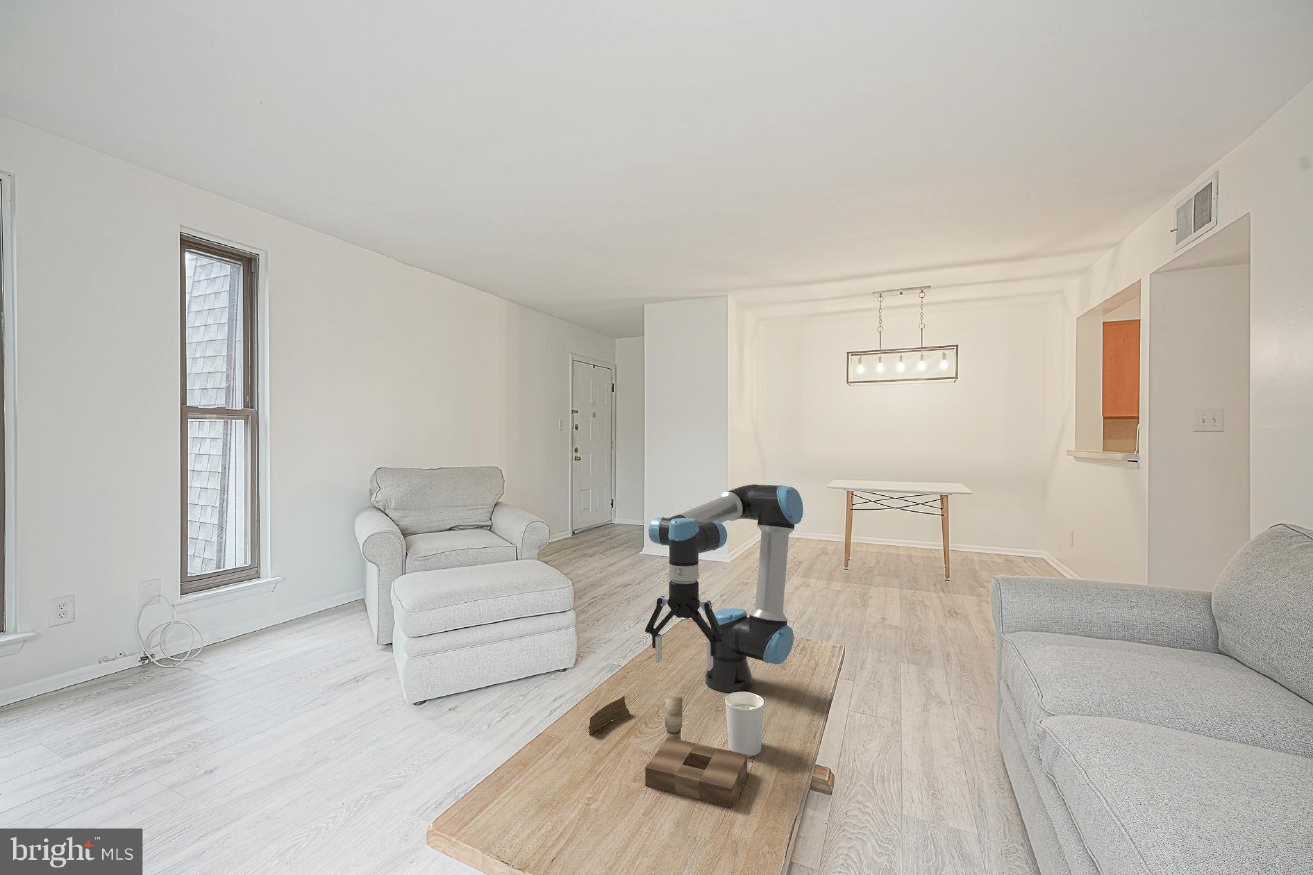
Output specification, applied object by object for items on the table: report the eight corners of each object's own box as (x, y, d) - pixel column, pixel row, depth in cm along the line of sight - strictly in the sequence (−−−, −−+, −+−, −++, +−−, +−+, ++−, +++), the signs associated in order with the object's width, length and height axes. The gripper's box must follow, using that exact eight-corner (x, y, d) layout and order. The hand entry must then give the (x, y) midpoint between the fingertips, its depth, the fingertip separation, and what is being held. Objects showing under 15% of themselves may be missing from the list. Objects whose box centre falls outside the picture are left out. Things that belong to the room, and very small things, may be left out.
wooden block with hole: (668, 753, 137) (668, 737, 137) (747, 771, 129) (747, 754, 129) (645, 785, 124) (645, 767, 124) (731, 807, 116) (731, 788, 116)
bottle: (668, 739, 143) (668, 693, 143) (684, 742, 142) (684, 696, 142) (662, 747, 139) (662, 700, 139) (678, 751, 137) (678, 703, 138)
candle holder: (734, 761, 133) (734, 711, 134) (719, 740, 143) (719, 694, 143) (771, 755, 136) (771, 706, 136) (753, 735, 145) (753, 689, 146)
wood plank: (593, 737, 144) (593, 718, 145) (587, 734, 146) (587, 715, 146) (629, 714, 157) (629, 696, 157) (623, 712, 158) (623, 694, 158)
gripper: (632, 579, 140) (632, 663, 139) (728, 588, 131) (729, 677, 130) (643, 573, 147) (643, 652, 146) (735, 580, 138) (736, 665, 137)
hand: (684, 664), depth 138 cm, fingers open, 13 cm apart
